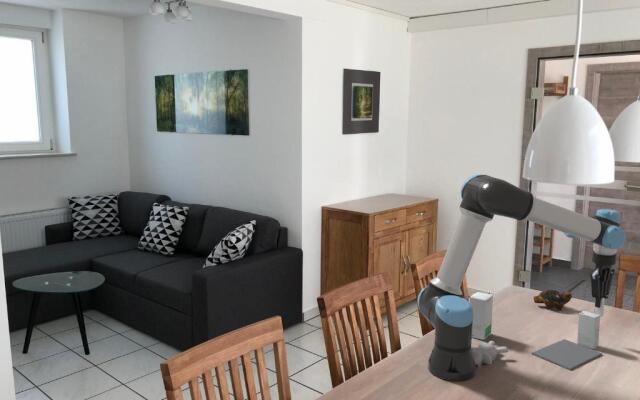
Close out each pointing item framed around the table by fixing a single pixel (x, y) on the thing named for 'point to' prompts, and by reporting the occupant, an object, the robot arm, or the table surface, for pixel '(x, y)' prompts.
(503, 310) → the table surface
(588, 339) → the skincare box
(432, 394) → the table surface
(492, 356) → the bunny figurine
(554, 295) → the decorative turtle
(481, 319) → the skincare box
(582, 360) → the mat
